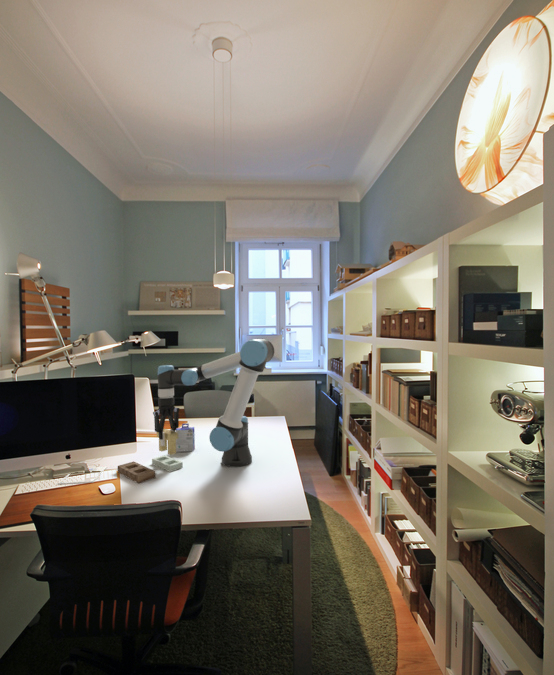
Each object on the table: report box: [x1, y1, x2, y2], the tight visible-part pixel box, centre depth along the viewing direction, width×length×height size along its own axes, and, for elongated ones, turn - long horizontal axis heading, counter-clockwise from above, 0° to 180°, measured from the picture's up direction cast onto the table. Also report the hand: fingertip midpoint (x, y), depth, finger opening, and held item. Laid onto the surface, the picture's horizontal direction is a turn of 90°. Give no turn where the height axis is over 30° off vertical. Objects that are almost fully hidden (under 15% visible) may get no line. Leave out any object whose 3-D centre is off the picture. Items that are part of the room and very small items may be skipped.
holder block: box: [151, 455, 183, 472], centre depth 181 cm, size 16×7×2 cm, turn 48°
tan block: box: [156, 428, 178, 456], centre depth 181 cm, size 12×4×10 cm, turn 48°
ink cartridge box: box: [175, 423, 196, 453], centre depth 206 cm, size 10×6×14 cm, turn 95°
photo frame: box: [57, 466, 108, 485], centre depth 170 cm, size 15×1×18 cm
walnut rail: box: [117, 461, 156, 484], centre depth 170 cm, size 20×8×3 cm, turn 48°
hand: (167, 444), depth 181 cm, fingers closed on tan block, 4 cm apart
